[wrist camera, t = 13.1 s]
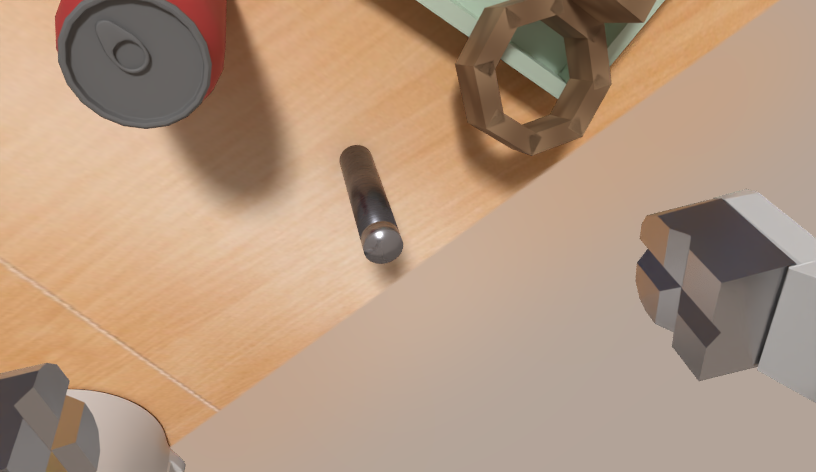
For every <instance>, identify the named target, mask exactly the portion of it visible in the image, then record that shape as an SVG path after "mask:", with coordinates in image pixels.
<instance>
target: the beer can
mask: <svg viewBox="0 0 816 472" xmlns="http://www.w3.org/2000/svg"><path fill="white" fill-rule="evenodd" d="M226 5H227V0H61V1H60V4H59V7H58V10H57V13H56V16H55V29H56V49H57V52H58V62H59V65H60V68H61V70H62V73H63V75H64V78H65V80H66V83H67V85H68V86H69V87H70V88H71V90H72V91H73V92H74V93H75V95H76V96H77V97H78V98H79V100H80V101H81V102H82V103H83V104H84V105H86V106H87V107H88V108H90V109H91V110H93V111H94V112H95V113H97V114H98V115H99V116H101V117H103V118H105V119H108V120H110V121H113V122H115V123H118V124H120V125H123V126H128V127H136V128H144V129H149V128H156V127H163V126H169V125H171V124H173V123H175V122H177V121H180V120H182V119H184V118H186V117H188V116H189V115H190V114H191V113H192V112H193V111H194V110H195V109H196V108H197V107H198V106H199V105H200V104H201V103H202V101H203V100H204V99H205V98H206V97H207V96H208V95H209V94H210V93H211V92H212V91H213V89H214V87H215V85H216V83H217V81H218V79H219V77H220V75H221V73H222V71H223V66H224V56H225V47H226Z"/></svg>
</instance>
